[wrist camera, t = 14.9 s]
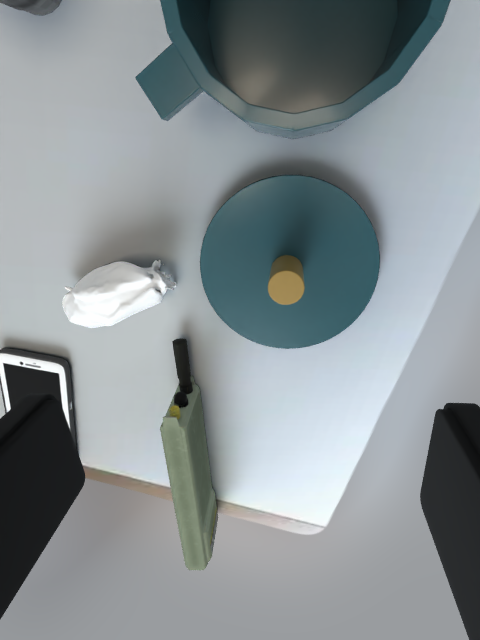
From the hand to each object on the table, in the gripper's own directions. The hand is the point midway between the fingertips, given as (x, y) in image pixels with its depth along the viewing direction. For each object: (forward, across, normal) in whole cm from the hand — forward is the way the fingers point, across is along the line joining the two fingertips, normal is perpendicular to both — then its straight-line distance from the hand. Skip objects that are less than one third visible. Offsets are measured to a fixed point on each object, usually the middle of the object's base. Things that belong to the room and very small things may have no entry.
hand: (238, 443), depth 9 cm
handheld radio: (+23, +9, +21) cm, 33 cm away
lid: (+23, -1, +2) cm, 23 cm away
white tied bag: (+23, +14, +4) cm, 28 cm away
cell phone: (+23, +27, +18) cm, 40 cm away
